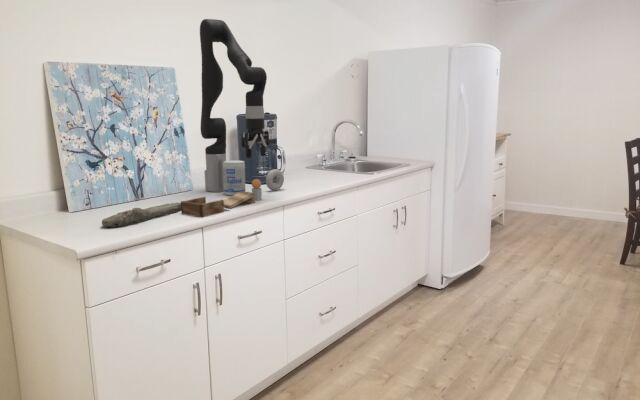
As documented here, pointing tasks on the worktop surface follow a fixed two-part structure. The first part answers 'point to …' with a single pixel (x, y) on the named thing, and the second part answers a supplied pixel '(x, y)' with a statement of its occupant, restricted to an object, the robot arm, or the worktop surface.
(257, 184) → the ball
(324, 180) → the worktop surface
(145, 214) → the long grey stone
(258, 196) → the hollow grey box
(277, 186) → the donut
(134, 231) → the worktop surface
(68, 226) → the worktop surface
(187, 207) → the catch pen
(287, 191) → the worktop surface
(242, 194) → the ramp
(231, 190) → the supplement tub
